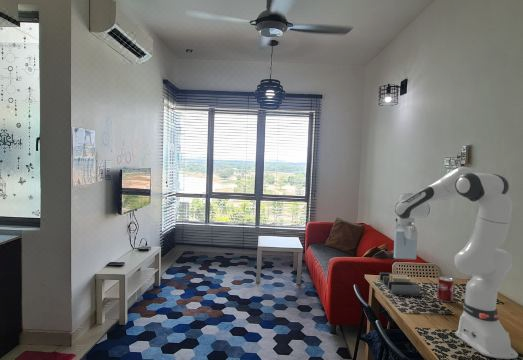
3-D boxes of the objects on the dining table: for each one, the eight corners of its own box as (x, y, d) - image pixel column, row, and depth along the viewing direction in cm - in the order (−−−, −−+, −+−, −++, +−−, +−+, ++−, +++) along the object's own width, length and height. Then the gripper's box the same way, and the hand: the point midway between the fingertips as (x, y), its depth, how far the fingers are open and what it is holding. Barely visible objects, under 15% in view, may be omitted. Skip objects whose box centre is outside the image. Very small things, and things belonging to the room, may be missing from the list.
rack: (420, 295, 175) (420, 286, 175) (391, 293, 175) (392, 285, 175) (403, 280, 197) (403, 272, 196) (378, 279, 197) (378, 271, 197)
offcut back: (407, 285, 185) (407, 276, 184) (390, 285, 185) (390, 275, 185) (405, 284, 187) (405, 274, 187) (388, 283, 188) (389, 274, 187)
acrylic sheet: (416, 259, 177) (417, 231, 176) (395, 258, 177) (396, 231, 177) (414, 258, 179) (415, 231, 179) (393, 257, 180) (394, 230, 179)
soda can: (448, 297, 173) (449, 276, 172) (454, 303, 166) (456, 281, 165) (434, 296, 174) (436, 275, 173) (440, 302, 166) (442, 280, 166)
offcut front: (409, 288, 181) (410, 278, 181) (392, 287, 181) (393, 277, 181) (407, 286, 184) (408, 277, 183) (391, 286, 184) (391, 276, 184)
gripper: (420, 224, 167) (419, 249, 168) (404, 218, 188) (403, 240, 188) (408, 224, 167) (407, 249, 168) (393, 218, 188) (393, 240, 188)
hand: (405, 244), depth 178 cm, fingers closed on acrylic sheet, 2 cm apart
